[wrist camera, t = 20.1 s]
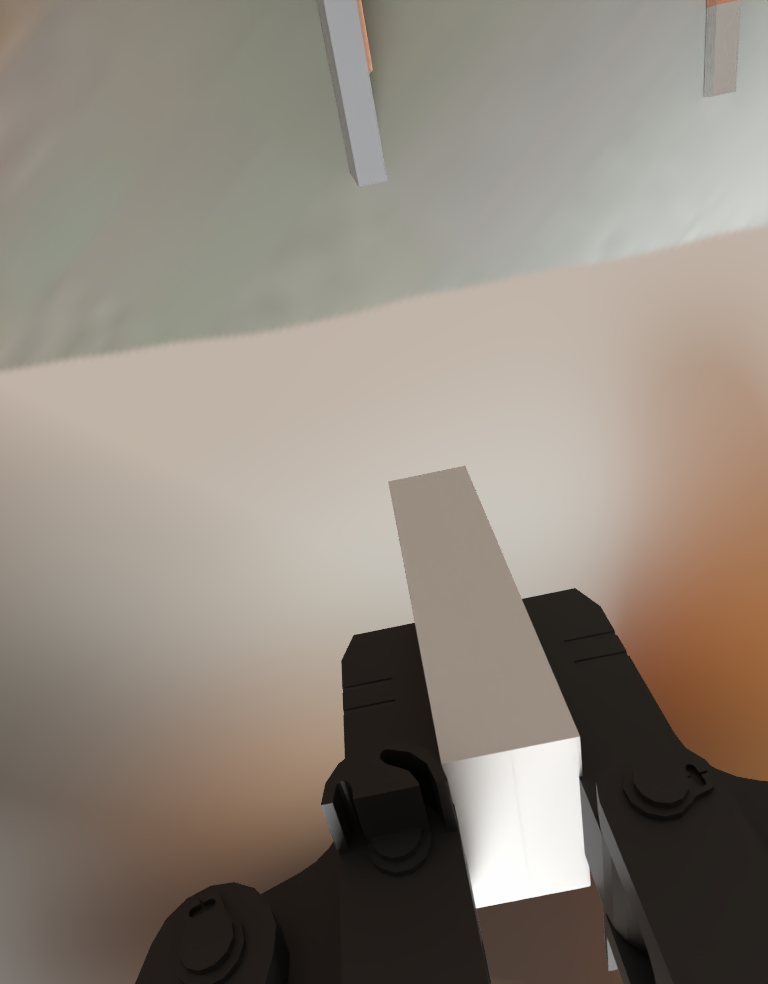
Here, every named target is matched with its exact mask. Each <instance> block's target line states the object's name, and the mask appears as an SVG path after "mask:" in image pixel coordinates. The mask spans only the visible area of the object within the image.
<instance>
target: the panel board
mask: <svg viewBox="0 0 768 984" xmlns="http://www.w3.org/2000/svg"><path fill="white" fill-rule="evenodd" d="M317 4H318V9H319V14H320V20H321V25H322V30H323V35H324V40H325V45H326V51H327V56H328V61H329V66H330V71H331V76H332V81H333V87H334V92H335V97H336V102H337V107H338V112H339V118H340V123H341V128H342V133H343V138H344V143H345V148H346V154H347V159H348V164H349V169H350V174H351V175H352V177H353V178H354V180H355V181H356V183H357V185H358V186H359V187H361V186H366V185H370V184H375V183H380V182H384V181H387V176H386V170H385V164H384V158H383V153H382V147H381V141H380V135H379V129H378V123H377V117H376V112H375V106H374V100H373V94H372V88H371V82H370V76H369V74H370V73H371V72H372V70H373V68H372V62H371V56H370V50H369V44H368V38H367V32H366V26H365V20H364V14H363V8H362V2H361V0H317Z"/></svg>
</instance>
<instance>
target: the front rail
mask: <svg viewBox="0 0 768 984" xmlns="http://www.w3.org/2000/svg"><path fill="white" fill-rule="evenodd" d="M740 1H741V0H707V5H706V8H707V16H706V45H705V75H704V97H710V96H717V95H721V94H726V93H731V92H735V91H736V76H737V57H738V39H739V20H740Z"/></svg>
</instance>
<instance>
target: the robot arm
mask: <svg viewBox="0 0 768 984" xmlns="http://www.w3.org/2000/svg"><path fill="white" fill-rule="evenodd" d="M389 487H390V492H391V498H392V503H393V509H394V514H395V519H396V525H397V529H398V535H399V541H400V546H401V551H402V556H403V562H404V567H405V573H406V578H407V583H408V589H409V594H410V599H411V605H412V609H413V615H414V621H415V623H412V624H407V625H402V626H397V627H392V628H387V629H382V630H378V631H373V632H368V633H363V634H357V635H354V636H353V638H352V640H351V642H350V644H349V646H348V648H347V650H346V653H345V654H344V657H343V659H342V687H343V710H344V742H345V759H344V760H343V761H342V762H340V763H339V764H338V765H337V767H336V768H335V770H334V771H333V773H332V774H331V776H330V778H329V779H328V780H327V782H326V784H325V789H324V793H323V798H322V803H321V807H322V810H323V813H324V815H325V818H326V821H327V824H328V826H329V829H330V832H331V835H332V838H333V840H334V841H333V843H332V845H331V846H330V848H329V849H328V850H327V851H326V852H325V853H324V854H323V855H322V856H321V857H320V858H319V859H318V860H317V861H316V862H315V863H313V864H312V865H310V866H309V867H308V868H306V869H305V870H303V871H302V872H301V873H299V874H297V875H295V876H293V877H291V878H290V879H288V880H286V881H284V882H283V883H280V884H279V885H277V886H275V887H273V888H271V889H270V890H268V891H266V892H264V893H262V894H259V892H258V891H256V889H255V888H252V887H248V886H245V885H241V884H238V883H234V882H233V883H226V884H220V885H214V886H210V887H208V888H206V889H204V890H202V891H200V892H198V893H196V894H195V895H193V896H191V897H189V898H187V899H186V900H185V901H184V902H183V903H182V904H181V905H180V906H179V907H178V908H177V909H176V910H175V911H174V912H173V913H172V914H171V915H170V916H169V917H168V918H167V919H166V920H165V922H164V924H163V926H162V927H161V929H160V931H159V932H158V934H157V936H156V938H155V939H154V941H153V943H152V945H151V947H150V949H149V952H148V954H147V956H146V959H145V961H144V964H143V966H142V969H141V971H140V973H139V976H138V978H137V981H136V983H135V984H491V980H490V974H489V969H488V964H487V959H486V955H485V950H484V945H483V941H482V936H481V931H480V926H479V921H478V916H477V911H476V908H480V907H485V906H490V905H495V904H501V903H506V902H511V901H516V900H521V899H526V898H532V897H536V896H542V895H547V894H552V893H557V892H563V891H568V890H573V889H578V888H583V887H588V886H590V872H589V867H590V870H591V873H592V876H593V878H594V881H595V884H596V887H597V889H598V892H599V895H600V898H601V900H602V903H603V914H604V915H603V916H604V933H605V949H606V956H607V963H608V970H609V971H611V970H617V969H618V970H619V973H620V976H621V979H622V982H623V984H768V782H767V781H758V780H752V779H747V778H742V777H736V776H734V775H731V774H728V773H726V772H723V771H720V770H718V769H716V768H714V767H712V766H710V765H709V763H708V762H707V761H706V760H705V759H703V758H701V757H700V756H698V755H696V754H695V753H693V752H691V751H690V750H688V749H687V748H686V747H684V745H683V744H682V743H681V741H680V740H679V739H678V737H677V736H676V735H675V733H674V732H673V730H672V728H671V727H670V725H669V723H668V722H667V720H666V718H665V717H664V715H663V713H662V711H661V709H660V708H659V706H658V704H657V703H656V701H655V699H654V697H653V696H652V694H651V692H650V691H649V689H648V687H647V685H646V684H645V682H644V680H643V679H642V677H641V675H640V674H639V672H638V670H637V668H636V667H635V665H634V663H633V662H632V660H631V658H630V656H628V655H627V653H626V649H625V648H624V646H623V644H622V643H621V641H620V639H619V637H618V636H617V635H615V632H614V629H613V627H612V625H611V624H610V622H609V620H608V619H607V617H606V615H605V613H604V612H603V610H602V608H601V607H600V606H599V605H598V604H596V603H595V602H594V601H592V600H591V599H589V598H588V597H587V596H585V595H584V594H582V593H581V592H580V591H578V590H577V589H575V588H574V589H569V590H564V591H560V592H555V593H549V594H544V595H540V596H535V597H530V598H525V599H521V596H520V594H519V592H518V589H517V587H516V585H515V582H514V580H513V578H512V575H511V573H510V570H509V568H508V566H507V563H506V561H505V559H504V556H503V554H502V552H501V549H500V547H499V545H498V542H497V540H496V538H495V535H494V533H493V530H492V528H491V526H490V524H489V521H488V519H487V516H486V514H485V512H484V509H483V507H482V505H481V502H480V500H479V497H478V495H477V493H476V490H475V488H474V486H473V484H472V481H471V479H470V476H469V474H468V472H467V469H466V467H465V466H462V467H457V468H453V469H448V470H443V471H438V472H433V473H428V474H423V475H419V476H414V477H409V478H404V479H399V480H394V481H390V482H389Z"/></svg>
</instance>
